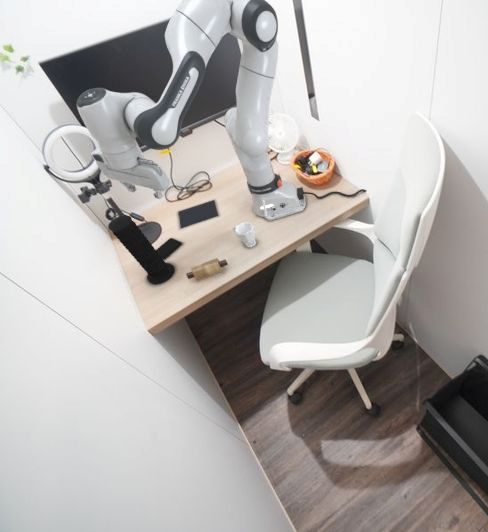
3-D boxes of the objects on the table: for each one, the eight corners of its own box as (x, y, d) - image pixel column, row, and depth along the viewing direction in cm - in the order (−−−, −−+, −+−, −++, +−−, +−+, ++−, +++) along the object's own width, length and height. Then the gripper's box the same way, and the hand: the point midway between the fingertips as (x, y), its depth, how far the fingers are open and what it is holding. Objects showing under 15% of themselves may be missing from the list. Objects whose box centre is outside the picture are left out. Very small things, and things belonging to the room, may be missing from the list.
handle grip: (161, 259, 122) (141, 278, 117) (120, 206, 102) (93, 226, 96) (180, 268, 119) (160, 288, 113) (141, 214, 98) (114, 235, 93)
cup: (251, 252, 120) (244, 236, 114) (232, 244, 124) (224, 229, 118) (263, 240, 124) (257, 224, 118) (244, 232, 128) (237, 217, 122)
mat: (214, 200, 144) (213, 199, 144) (218, 215, 137) (218, 215, 137) (178, 212, 142) (178, 211, 141) (181, 228, 134) (180, 227, 134)
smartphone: (140, 262, 122) (170, 237, 129) (141, 264, 122) (171, 238, 130) (152, 268, 119) (182, 242, 127) (153, 269, 119) (183, 243, 127)
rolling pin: (230, 271, 115) (225, 262, 111) (191, 285, 112) (185, 276, 108) (228, 262, 118) (223, 252, 114) (190, 275, 115) (183, 266, 111)
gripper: (163, 155, 88) (181, 195, 99) (101, 141, 91) (125, 181, 102) (149, 168, 84) (169, 208, 95) (84, 153, 87) (111, 193, 98)
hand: (146, 194), depth 98 cm, fingers open, 8 cm apart
